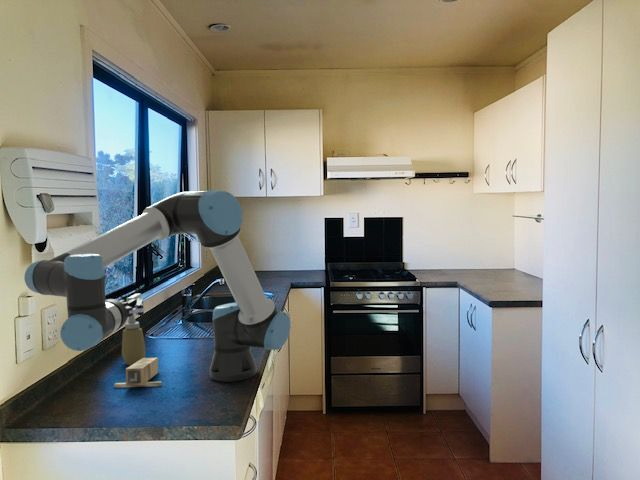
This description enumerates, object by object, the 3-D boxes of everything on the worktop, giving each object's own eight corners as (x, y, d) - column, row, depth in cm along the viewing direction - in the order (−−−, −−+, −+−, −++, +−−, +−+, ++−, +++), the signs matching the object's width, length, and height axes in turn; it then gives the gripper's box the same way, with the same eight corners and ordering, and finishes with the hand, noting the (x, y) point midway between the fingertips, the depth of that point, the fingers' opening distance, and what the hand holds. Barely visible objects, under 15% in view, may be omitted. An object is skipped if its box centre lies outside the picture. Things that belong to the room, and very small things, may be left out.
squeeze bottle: (120, 367, 178) (118, 316, 177) (123, 360, 186) (120, 311, 184) (145, 365, 180) (143, 314, 179) (146, 358, 188) (144, 309, 187)
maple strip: (161, 385, 160) (161, 381, 160) (160, 386, 159) (160, 382, 159) (115, 386, 159) (115, 383, 159) (114, 388, 158) (114, 384, 158)
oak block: (142, 385, 156) (158, 372, 172) (142, 368, 156) (157, 357, 172) (125, 385, 155) (143, 373, 172) (125, 368, 156) (142, 357, 172)
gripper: (78, 334, 119) (115, 312, 143) (135, 332, 120) (162, 310, 143) (76, 302, 119) (113, 285, 142) (133, 300, 119) (161, 284, 143)
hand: (138, 298), depth 143 cm, fingers closed
